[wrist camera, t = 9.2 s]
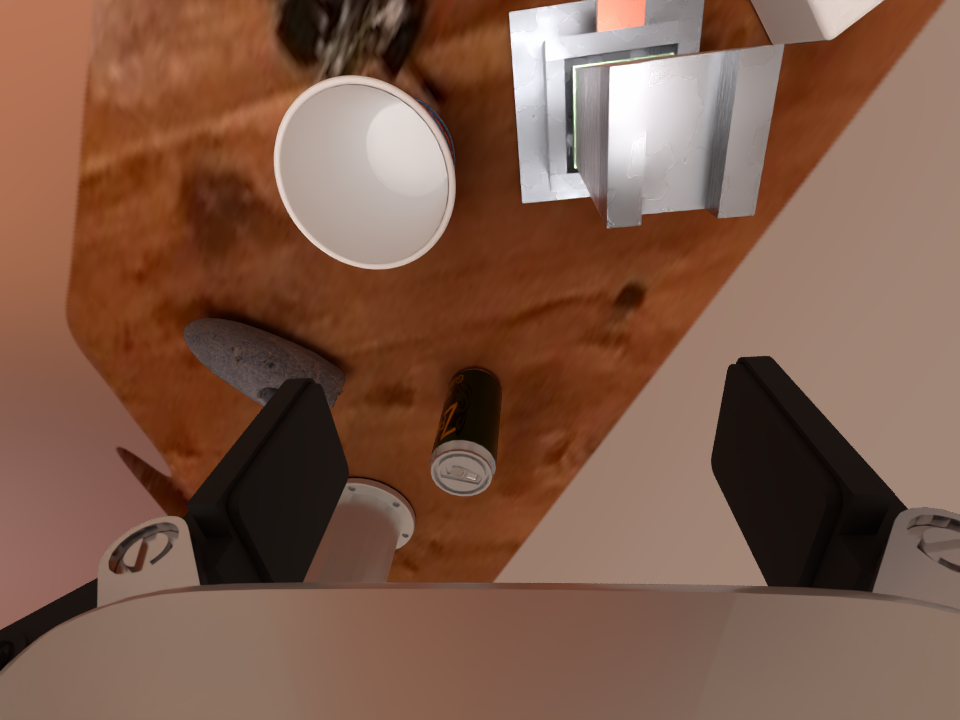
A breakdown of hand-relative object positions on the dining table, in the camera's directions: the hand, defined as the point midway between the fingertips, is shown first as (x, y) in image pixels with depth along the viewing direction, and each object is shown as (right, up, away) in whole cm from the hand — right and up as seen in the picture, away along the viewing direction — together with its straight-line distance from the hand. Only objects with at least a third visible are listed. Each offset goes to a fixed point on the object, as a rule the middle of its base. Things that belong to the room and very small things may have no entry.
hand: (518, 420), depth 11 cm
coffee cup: (-6, +18, +26) cm, 32 cm away
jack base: (+8, +20, +23) cm, 31 cm away
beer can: (-1, -1, +37) cm, 37 cm away
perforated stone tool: (-21, +3, +36) cm, 42 cm away
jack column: (+7, +16, +17) cm, 25 cm away
